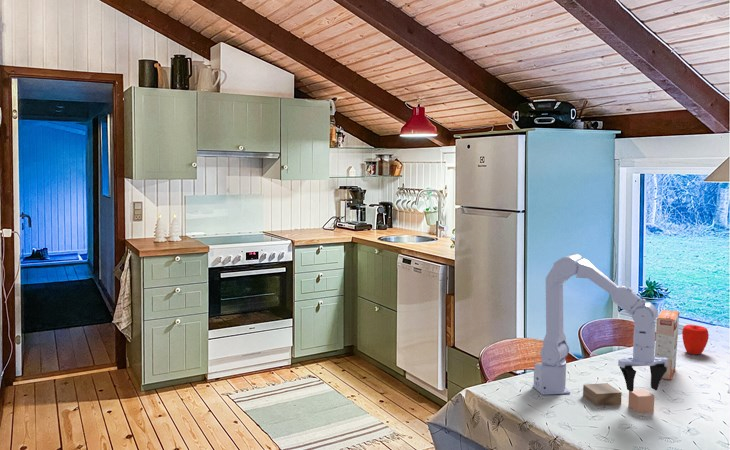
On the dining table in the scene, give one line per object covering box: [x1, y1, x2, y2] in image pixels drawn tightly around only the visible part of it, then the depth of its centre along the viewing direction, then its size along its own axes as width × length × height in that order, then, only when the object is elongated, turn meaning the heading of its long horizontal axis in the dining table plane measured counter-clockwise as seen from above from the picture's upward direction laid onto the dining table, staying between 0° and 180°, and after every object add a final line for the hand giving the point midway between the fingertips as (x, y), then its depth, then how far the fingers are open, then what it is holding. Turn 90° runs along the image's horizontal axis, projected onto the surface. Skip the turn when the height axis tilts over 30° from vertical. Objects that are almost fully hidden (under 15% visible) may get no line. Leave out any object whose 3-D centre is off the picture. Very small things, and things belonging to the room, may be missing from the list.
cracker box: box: [654, 309, 680, 381], centre depth 214 cm, size 14×6×21 cm, turn 148°
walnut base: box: [582, 382, 622, 407], centre depth 191 cm, size 8×8×4 cm
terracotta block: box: [627, 389, 655, 414], centre depth 184 cm, size 5×5×5 cm
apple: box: [681, 324, 710, 355], centre depth 238 cm, size 9×9×11 cm
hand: (642, 389), depth 184 cm, fingers open, 7 cm apart
